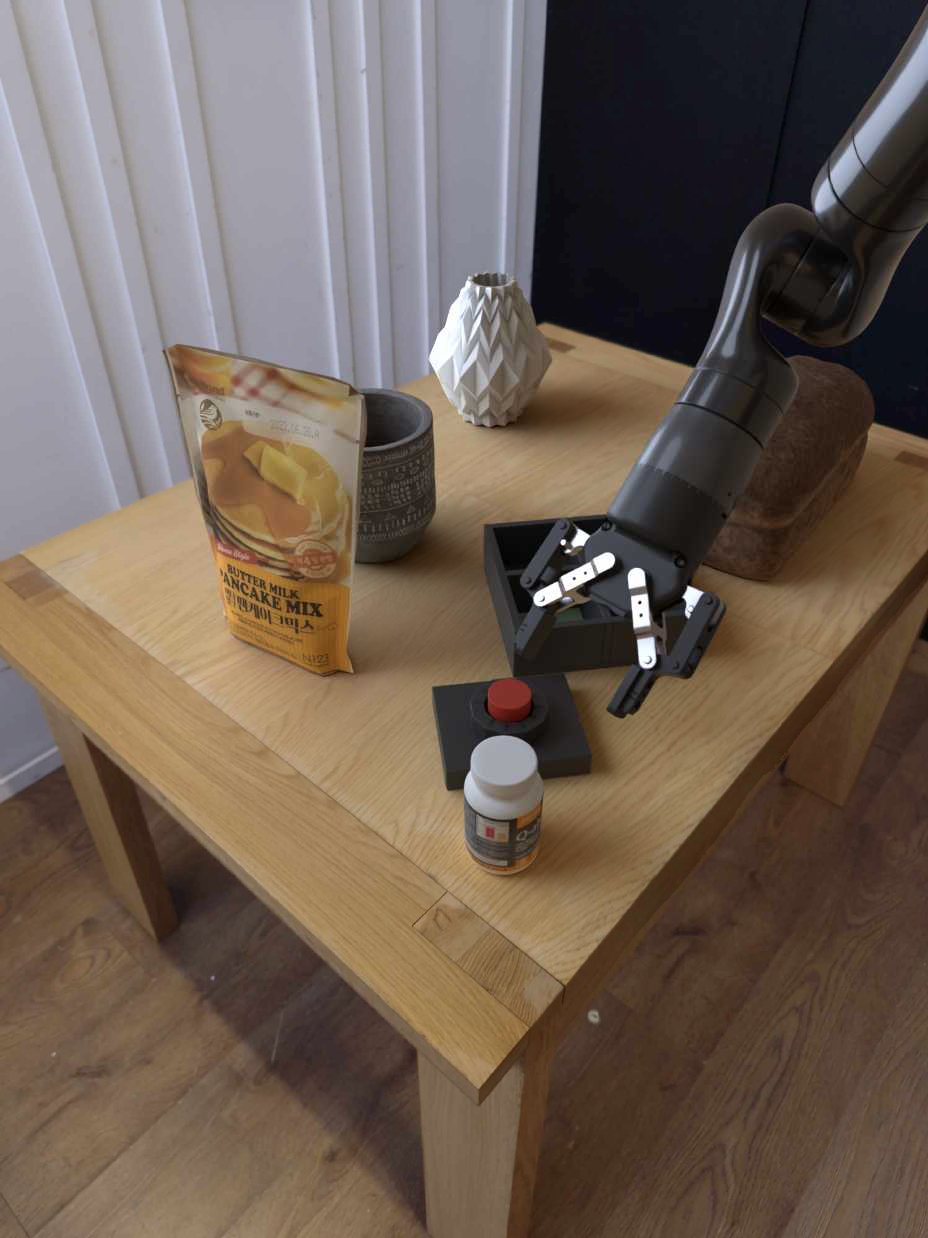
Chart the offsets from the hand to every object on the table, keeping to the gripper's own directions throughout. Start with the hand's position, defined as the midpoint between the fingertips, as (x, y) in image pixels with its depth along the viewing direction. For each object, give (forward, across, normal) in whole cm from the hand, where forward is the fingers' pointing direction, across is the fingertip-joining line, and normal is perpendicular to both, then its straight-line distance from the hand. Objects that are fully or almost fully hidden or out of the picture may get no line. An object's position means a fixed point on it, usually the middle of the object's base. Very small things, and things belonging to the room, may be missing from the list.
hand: (567, 684), depth 63 cm
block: (+8, -7, +10) cm, 15 cm away
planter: (0, -39, +19) cm, 43 cm away
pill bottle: (+14, 0, +4) cm, 14 cm away
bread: (-26, -11, +44) cm, 53 cm away
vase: (-23, -50, +41) cm, 69 cm away
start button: (+5, -7, +8) cm, 12 cm away
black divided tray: (-5, -14, +23) cm, 27 cm away
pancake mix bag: (+11, -31, +7) cm, 34 cm away
